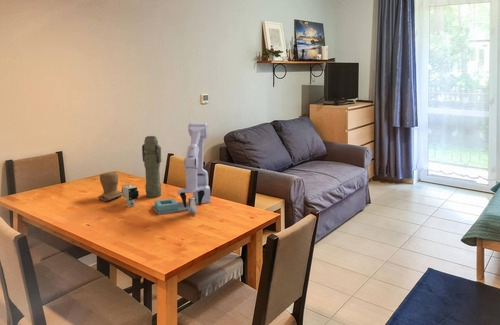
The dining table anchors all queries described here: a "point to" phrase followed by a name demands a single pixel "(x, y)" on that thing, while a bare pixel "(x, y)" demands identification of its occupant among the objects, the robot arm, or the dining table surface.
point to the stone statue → (152, 166)
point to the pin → (192, 205)
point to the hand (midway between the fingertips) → (192, 206)
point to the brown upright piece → (109, 186)
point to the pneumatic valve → (130, 194)
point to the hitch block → (169, 206)
